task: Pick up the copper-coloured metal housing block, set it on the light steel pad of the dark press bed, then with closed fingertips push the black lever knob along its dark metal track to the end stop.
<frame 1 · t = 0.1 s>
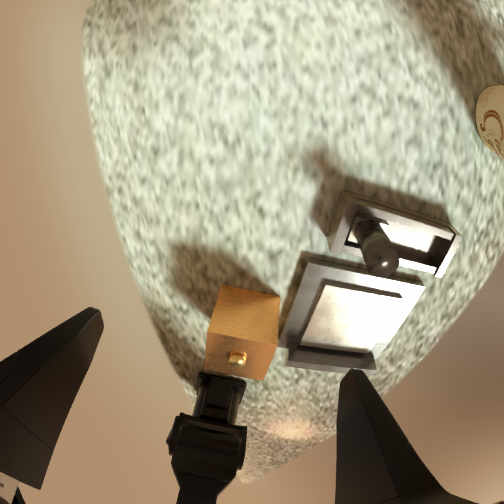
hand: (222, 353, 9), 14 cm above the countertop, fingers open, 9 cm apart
press bed: (348, 314, 27), on the countertop
lever: (374, 243, 18), point 3 cm above the countertop, slide at 0.0 cm
housing: (246, 310, 28), on the countertop
lever track: (394, 230, 21), on the countertop
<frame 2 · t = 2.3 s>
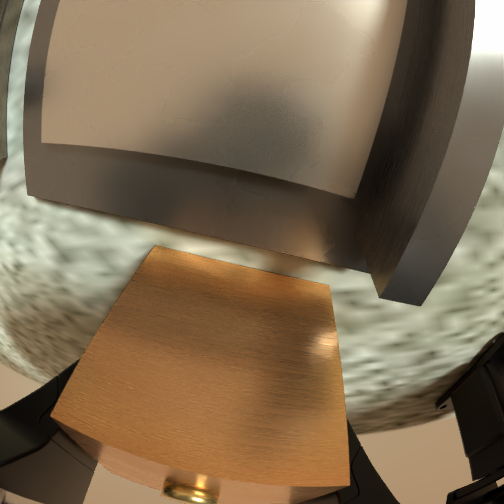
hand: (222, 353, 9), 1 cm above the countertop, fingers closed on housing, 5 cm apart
housing: (228, 326, 10), on the countertop, touching gripper
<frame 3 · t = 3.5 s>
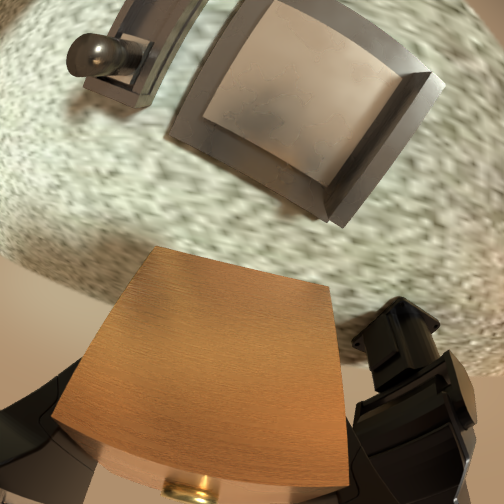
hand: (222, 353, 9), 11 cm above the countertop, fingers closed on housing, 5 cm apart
press bed: (303, 90, 14), on the countertop
lever: (111, 56, 10), point 3 cm above the countertop, slide at 0.0 cm
housing: (227, 327, 10), point 10 cm above the countertop, touching gripper
lever track: (162, 19, 12), on the countertop
when the fingers open (4 cm above the countertop, at t = 5.1 s): housing drops 1 cm, resting on press bed.
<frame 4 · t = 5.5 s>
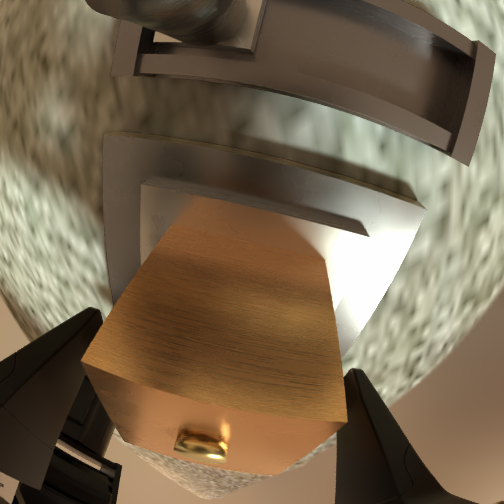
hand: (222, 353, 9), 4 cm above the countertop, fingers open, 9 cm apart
press bed: (239, 280, 12), on the countertop
housing: (235, 300, 11), point 1 cm above the countertop, touching press bed
lever track: (311, 42, 7), on the countertop
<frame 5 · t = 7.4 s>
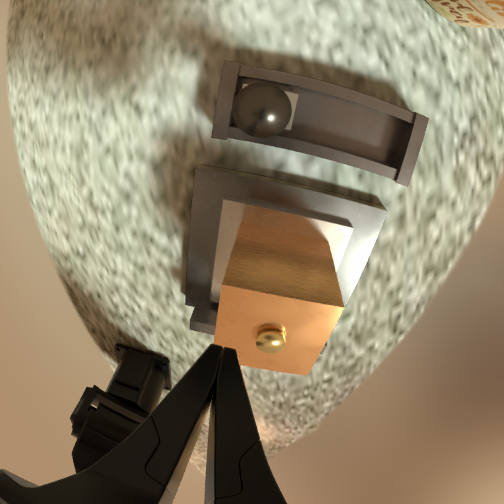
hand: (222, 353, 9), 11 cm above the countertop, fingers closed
press bed: (276, 257, 20), on the countertop
lever: (265, 107, 12), point 3 cm above the countertop, slide at 0.0 cm
housing: (275, 268, 19), point 1 cm above the countertop, touching press bed
lever track: (320, 117, 14), on the countertop
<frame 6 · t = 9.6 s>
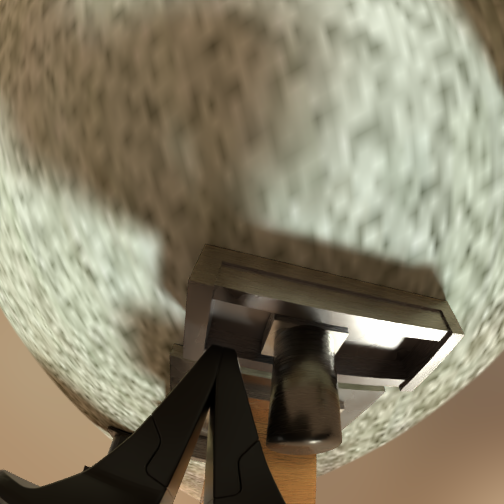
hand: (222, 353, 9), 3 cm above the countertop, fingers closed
press bed: (262, 411, 17), on the countertop
lever: (304, 378, 9), point 3 cm above the countertop, slide at 1.9 cm, touching gripper
housing: (260, 427, 16), point 1 cm above the countertop, touching press bed
lever track: (327, 315, 12), on the countertop
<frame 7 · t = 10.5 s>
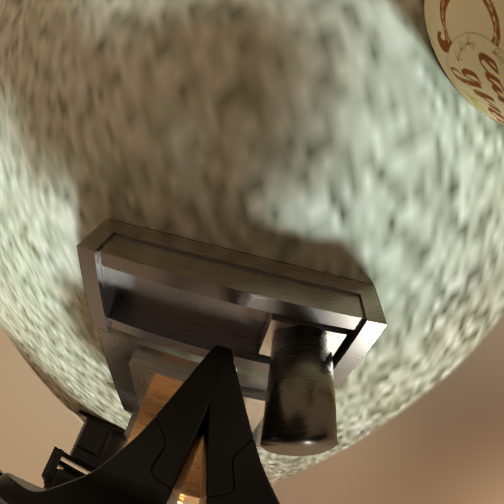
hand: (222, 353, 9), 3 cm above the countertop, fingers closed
press bed: (199, 397, 17), on the countertop
lever: (301, 378, 9), point 3 cm above the countertop, slide at 6.1 cm, touching gripper
housing: (194, 414, 16), point 1 cm above the countertop, touching press bed
lever track: (228, 293, 12), on the countertop
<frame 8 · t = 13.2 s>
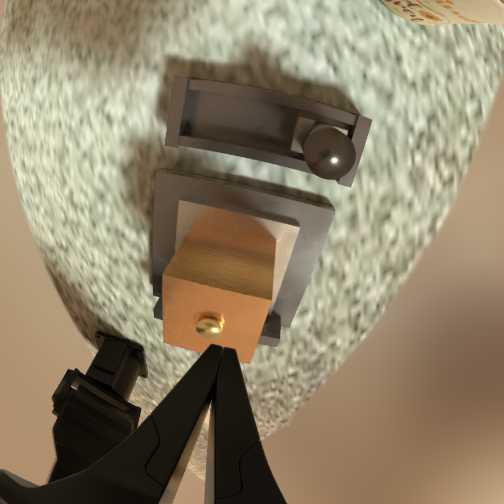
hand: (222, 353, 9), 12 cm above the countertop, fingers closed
press bed: (231, 253, 21), on the countertop
lever: (323, 144, 13), point 3 cm above the countertop, slide at 6.0 cm
housing: (228, 263, 20), point 1 cm above the countertop, touching press bed
lever track: (267, 123, 16), on the countertop
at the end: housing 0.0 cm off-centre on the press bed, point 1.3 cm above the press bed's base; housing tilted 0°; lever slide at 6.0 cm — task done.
